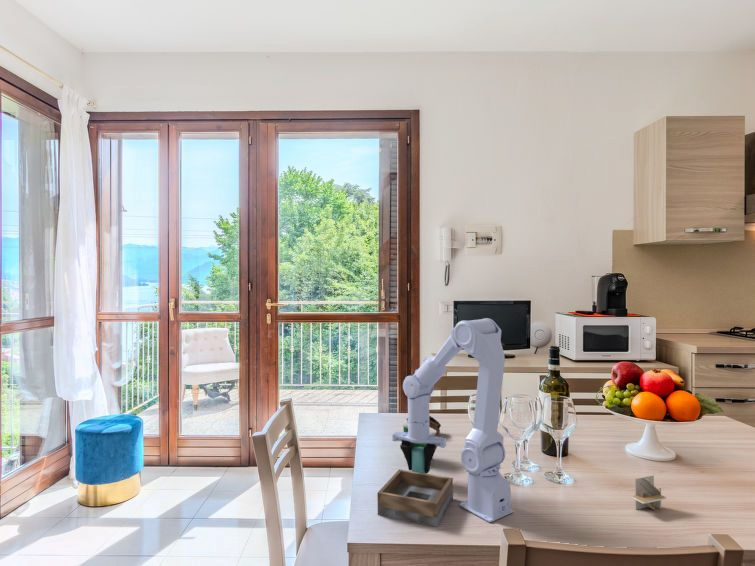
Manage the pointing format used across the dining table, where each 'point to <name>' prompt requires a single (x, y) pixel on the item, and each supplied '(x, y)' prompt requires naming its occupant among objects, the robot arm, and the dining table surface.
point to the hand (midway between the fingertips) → (419, 470)
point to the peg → (418, 460)
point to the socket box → (416, 497)
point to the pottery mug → (434, 425)
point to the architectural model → (647, 493)
